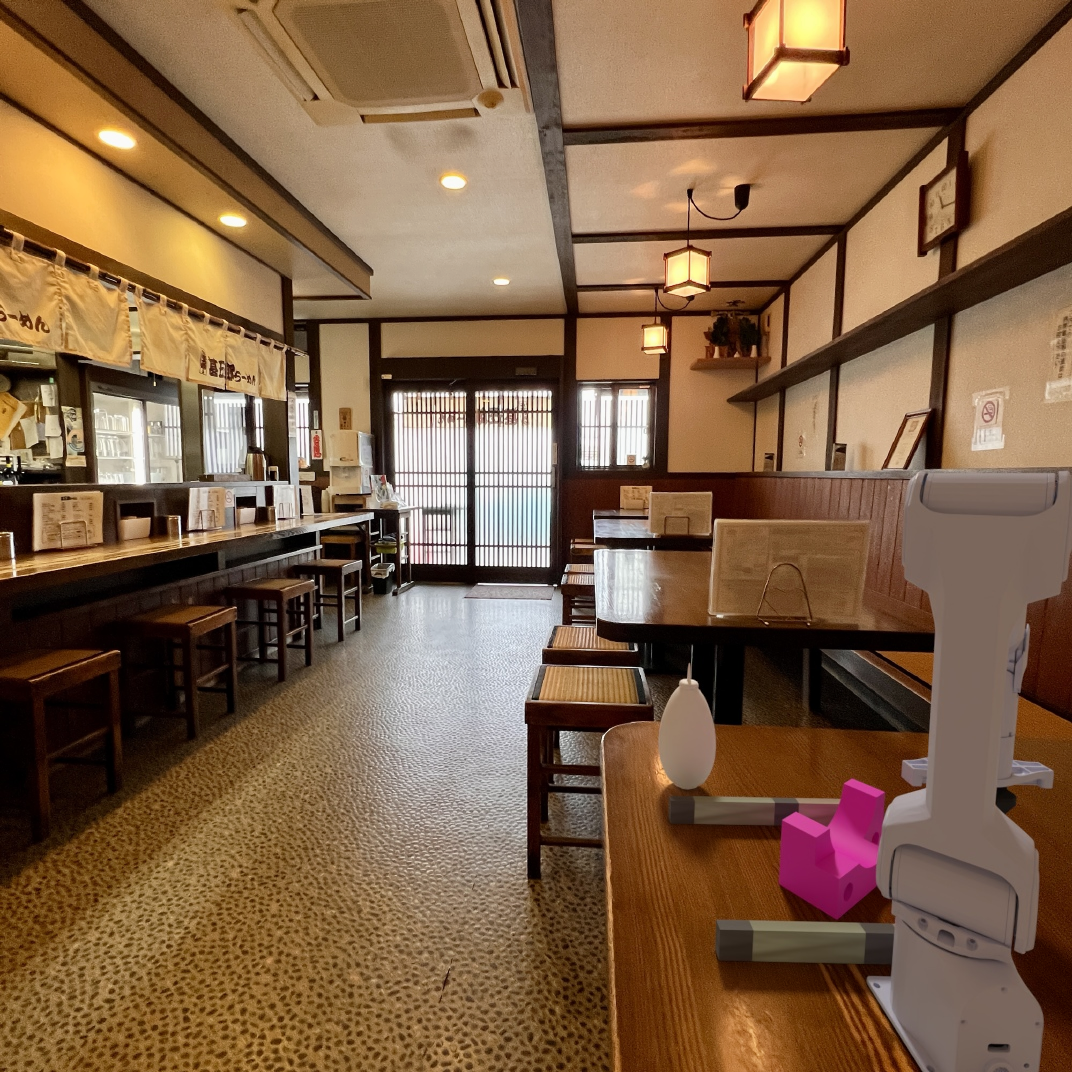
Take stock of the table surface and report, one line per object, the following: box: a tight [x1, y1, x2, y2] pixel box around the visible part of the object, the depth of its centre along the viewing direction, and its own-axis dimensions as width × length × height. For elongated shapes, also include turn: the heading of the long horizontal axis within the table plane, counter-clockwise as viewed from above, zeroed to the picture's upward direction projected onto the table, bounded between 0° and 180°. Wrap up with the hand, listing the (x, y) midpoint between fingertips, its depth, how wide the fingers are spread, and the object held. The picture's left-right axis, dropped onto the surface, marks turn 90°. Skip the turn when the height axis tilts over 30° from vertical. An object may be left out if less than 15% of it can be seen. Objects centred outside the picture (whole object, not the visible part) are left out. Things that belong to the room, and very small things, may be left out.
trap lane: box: [667, 795, 895, 966], centre depth 63 cm, size 22×24×3 cm
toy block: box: [778, 778, 886, 920], centre depth 64 cm, size 15×6×8 cm, turn 126°
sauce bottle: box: [657, 662, 717, 790], centre depth 82 cm, size 8×8×18 cm
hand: (969, 846), depth 63 cm, fingers closed
